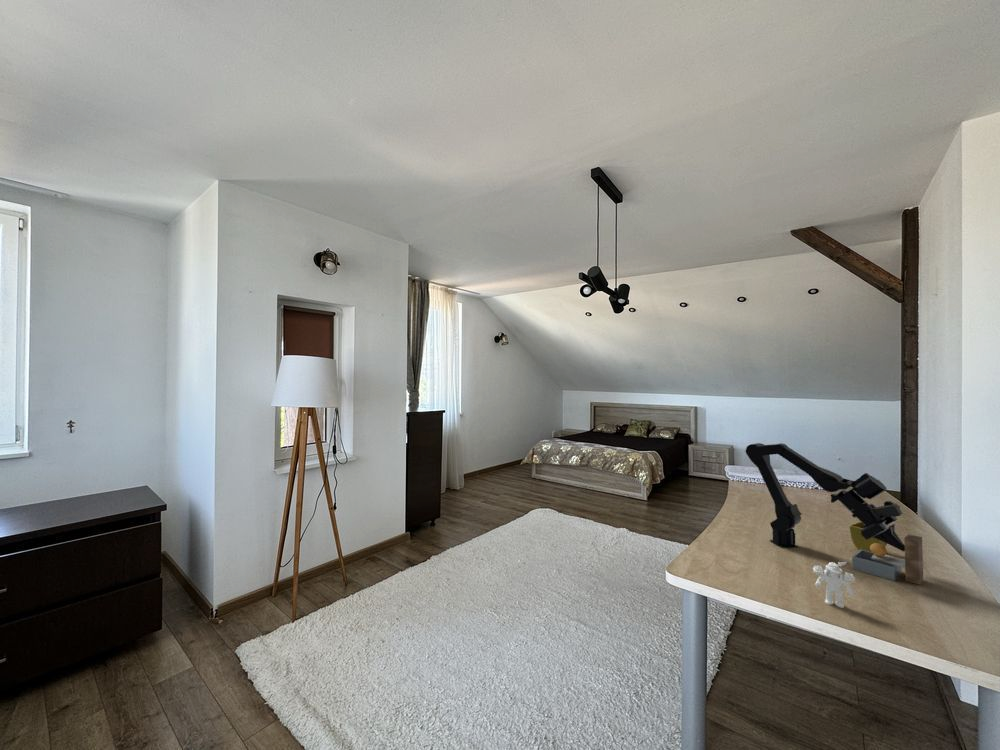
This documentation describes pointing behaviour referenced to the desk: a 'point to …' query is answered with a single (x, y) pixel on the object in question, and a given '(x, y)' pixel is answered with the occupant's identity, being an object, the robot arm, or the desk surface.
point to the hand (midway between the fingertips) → (905, 550)
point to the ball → (878, 549)
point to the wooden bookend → (908, 559)
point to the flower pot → (859, 539)
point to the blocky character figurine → (834, 582)
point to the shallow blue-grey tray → (874, 565)
